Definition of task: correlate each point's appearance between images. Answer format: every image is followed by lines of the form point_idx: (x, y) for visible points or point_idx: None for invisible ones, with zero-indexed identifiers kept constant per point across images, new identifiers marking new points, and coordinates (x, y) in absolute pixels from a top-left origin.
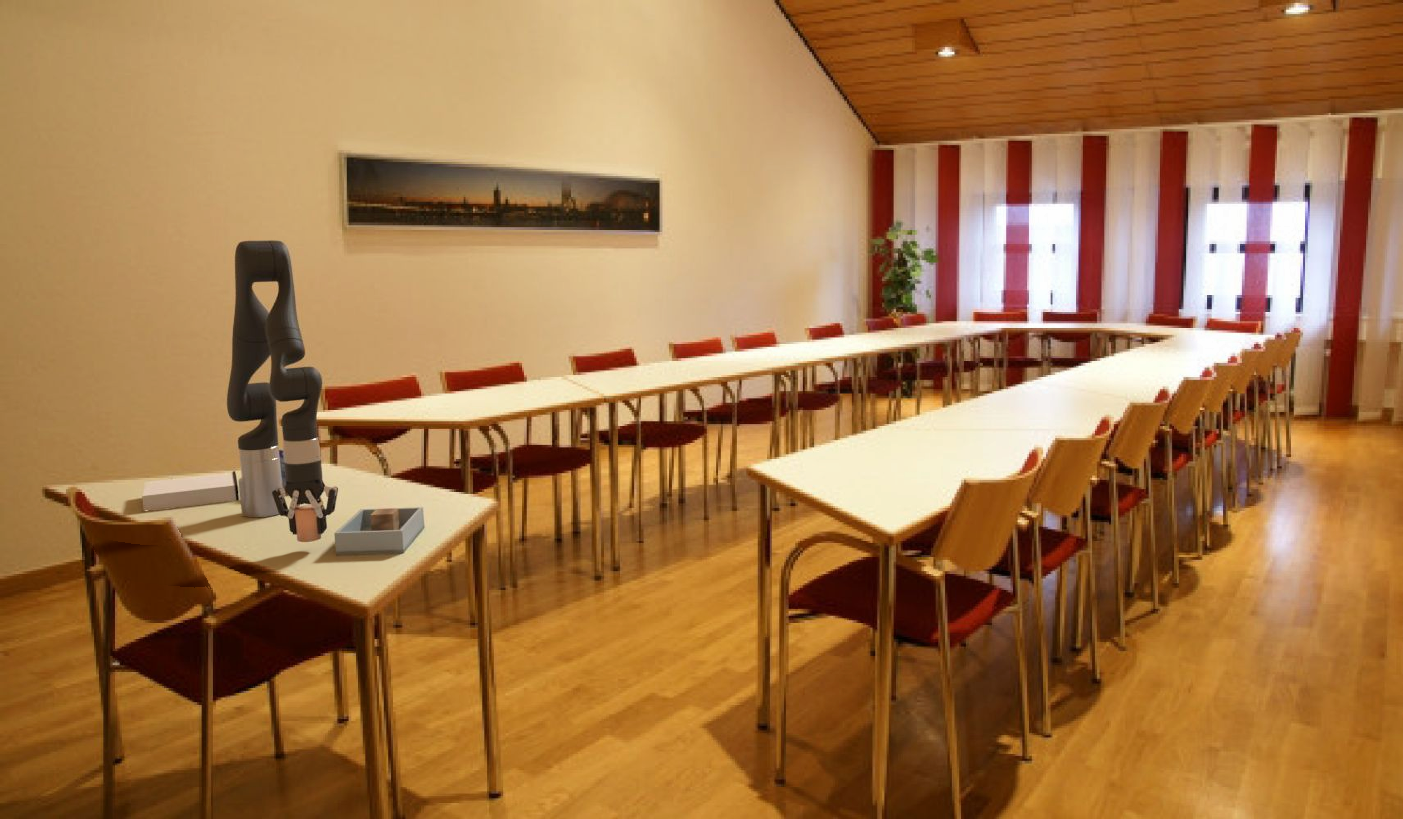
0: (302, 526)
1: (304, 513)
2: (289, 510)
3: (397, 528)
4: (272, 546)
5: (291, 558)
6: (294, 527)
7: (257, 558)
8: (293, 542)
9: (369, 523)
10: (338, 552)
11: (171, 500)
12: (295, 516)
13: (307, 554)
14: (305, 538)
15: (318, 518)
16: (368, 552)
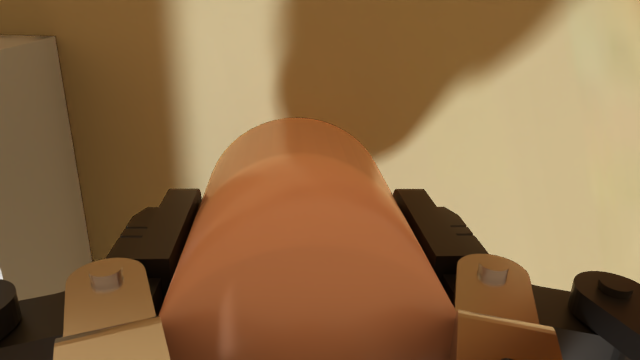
0: (320, 164)
1: (289, 232)
2: (532, 317)
3: None
4: (548, 272)
5: (371, 8)
6: (416, 211)
7: (602, 42)
8: None
9: None
10: (25, 38)
11: None
12: (425, 256)
13: (285, 90)
14: (295, 127)
15: (150, 259)
16: None
